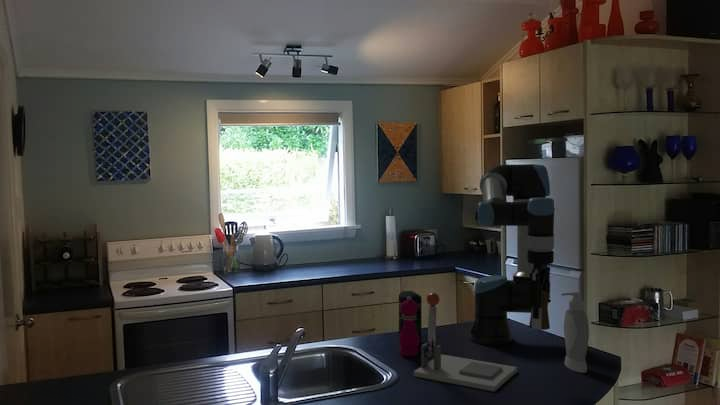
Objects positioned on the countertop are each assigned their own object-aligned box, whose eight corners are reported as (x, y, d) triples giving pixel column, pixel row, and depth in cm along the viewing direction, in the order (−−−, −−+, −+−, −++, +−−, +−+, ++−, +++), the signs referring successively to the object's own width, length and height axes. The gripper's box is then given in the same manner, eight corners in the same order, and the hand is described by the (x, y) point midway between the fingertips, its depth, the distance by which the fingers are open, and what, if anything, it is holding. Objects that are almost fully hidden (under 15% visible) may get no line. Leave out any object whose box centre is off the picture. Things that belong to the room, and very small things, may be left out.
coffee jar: (424, 345, 232) (424, 294, 231) (402, 346, 231) (402, 295, 230) (417, 337, 242) (417, 288, 241) (396, 339, 241) (396, 289, 239)
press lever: (427, 356, 206) (430, 291, 206) (439, 358, 204) (441, 292, 204) (422, 358, 202) (424, 292, 202) (433, 360, 200) (436, 294, 200)
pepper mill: (396, 355, 221) (395, 297, 220) (402, 349, 228) (402, 293, 227) (416, 357, 219) (416, 298, 217) (422, 351, 225) (422, 294, 224)
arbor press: (441, 358, 217) (441, 333, 216) (516, 371, 203) (517, 345, 203) (413, 376, 200) (413, 349, 199) (494, 391, 186) (494, 362, 186)
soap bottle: (550, 363, 211) (551, 289, 210) (571, 361, 213) (572, 288, 211) (572, 376, 199) (573, 297, 197) (594, 374, 200) (596, 296, 199)
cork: (550, 330, 190) (551, 293, 190) (529, 329, 192) (530, 292, 191) (548, 324, 196) (549, 289, 195) (528, 324, 197) (528, 288, 197)
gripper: (536, 244, 202) (536, 317, 204) (518, 253, 186) (517, 332, 188) (561, 246, 198) (560, 320, 200) (544, 255, 182) (543, 335, 184)
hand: (539, 326), depth 194 cm, fingers closed on cork, 6 cm apart
